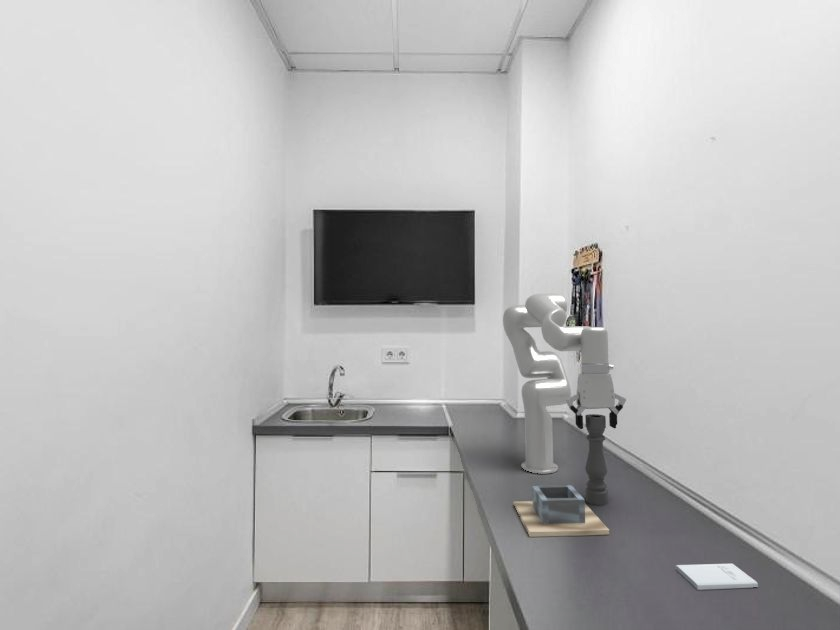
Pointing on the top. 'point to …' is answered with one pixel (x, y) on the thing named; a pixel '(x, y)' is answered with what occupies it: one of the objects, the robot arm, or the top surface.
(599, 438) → the candle holder
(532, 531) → the socket board
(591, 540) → the top surface
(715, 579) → the external hard drive
